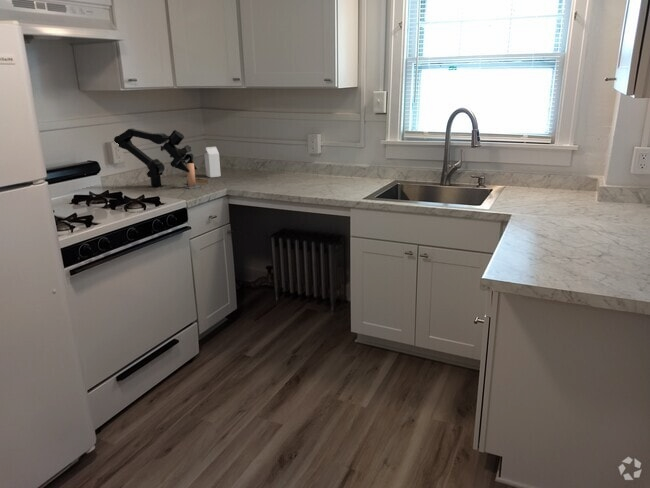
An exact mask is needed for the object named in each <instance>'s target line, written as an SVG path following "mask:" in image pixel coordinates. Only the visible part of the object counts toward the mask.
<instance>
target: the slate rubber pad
mask: <svg viewBox="0 0 650 488" xmlns="http://www.w3.org/2000/svg"><path fill="white" fill-rule="evenodd" d="M201 186H202V185H196V186H194V187H188V185H184V186H183V188H184V189H187V188H188V190H192V189H193V190H194V189H200V188H201Z"/></svg>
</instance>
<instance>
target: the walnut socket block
mask: <svg viewBox="0 0 650 488" xmlns="http://www.w3.org/2000/svg"><path fill="white" fill-rule="evenodd" d="M208 179H209V178H208ZM208 179H207V178H204V177H203V178H202V177H195V181H196V185H198V186H202V185H207V184H209V180H208ZM186 185H188V180H187V179H186Z"/></svg>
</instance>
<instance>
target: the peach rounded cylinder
mask: <svg viewBox="0 0 650 488" xmlns="http://www.w3.org/2000/svg"><path fill="white" fill-rule="evenodd" d="M194 164H195V162H194V163H187V164H185V166H186V167H187V168H188V169H189V171H190V172H189V173H188V172H186V177H187V178H186V181H187V180H188V184H187V186H188V187H194V186H196V181H195V178H196V172H195V171H196V170H195V169H194Z"/></svg>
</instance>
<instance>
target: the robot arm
mask: <svg viewBox="0 0 650 488" xmlns="http://www.w3.org/2000/svg"><path fill="white" fill-rule="evenodd" d="M133 137H135V138H140V139H142V140H143V139H144V140H148V141H150V142H152V143H154V144H156V145H160V151H161V152H163V151H166V152H167V153H168V154H169V157H170V158H172V161H171V162H170V166H171V167H172V168H174V169H178V170H180V171H184V172H186V173H187V172H188V173H189V172H190V171H189V169H188V168H187V167H186V164H187V163H194V170H195V171H196V170H197V169H198V168H197V166H196V164H195V162H194V154H193V153H191V152H192V147H191V146H190V145H188V144H186V145H185V146H184V147H182V148H179V147H177V146H179V145H180V144H181V142H182V141H183V140H184V139H185V136H184V134H183V133H182V132H180V131H178V130H176V129H174V130H173V131H172V132H171V134H170V135H167V134H166V133H163V132H148V131H144V130H138V129H136V128H127V130H125V131H124V132H122V133H121V134H119V135H115V137H114V138H113V142H114V141H115V142H116V143H118V144H119V146H118V148H120V149H124V150H126V151H128V152H129V153H130V154H131V155H132V156H134V157H135V158H136V159H138V160H140V162H142V163H143V164H145V166H146V168H147V170H148V172H146V175H147V178H149V179H150V185H148V187H150V188H154V189H155V188H160V187H161V188H162V187H164V184H162V181H161V180H162V179H161V176H163V174H164V171H165V165H164V164H163V162H162V161H160V160H159V159H158V158H154V159H152V158H151V157H150V156H148V155H147V154H146V153H145V152H143V151H142V150H141V149H140V148H138V147H137V146H135V144H133V142H132V139H133ZM162 144H163V145H162Z"/></svg>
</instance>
